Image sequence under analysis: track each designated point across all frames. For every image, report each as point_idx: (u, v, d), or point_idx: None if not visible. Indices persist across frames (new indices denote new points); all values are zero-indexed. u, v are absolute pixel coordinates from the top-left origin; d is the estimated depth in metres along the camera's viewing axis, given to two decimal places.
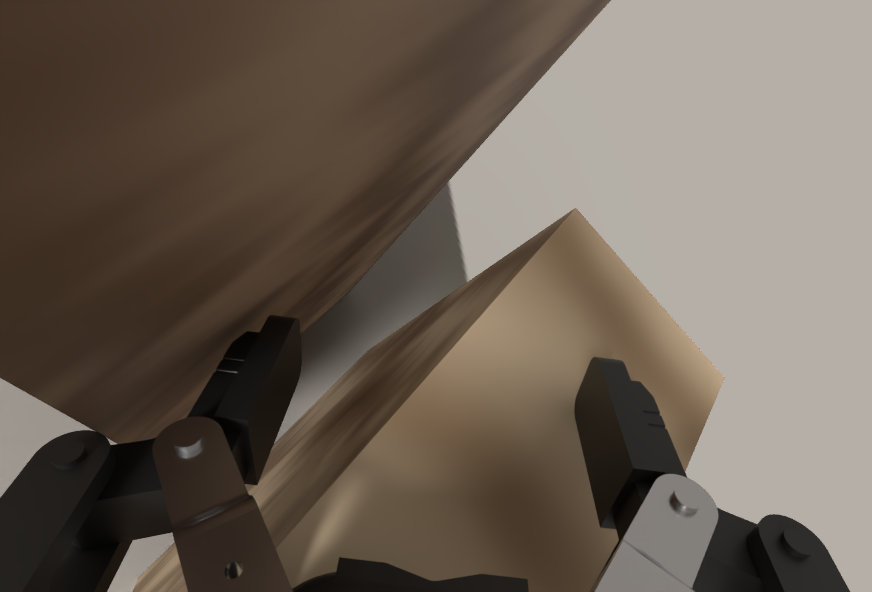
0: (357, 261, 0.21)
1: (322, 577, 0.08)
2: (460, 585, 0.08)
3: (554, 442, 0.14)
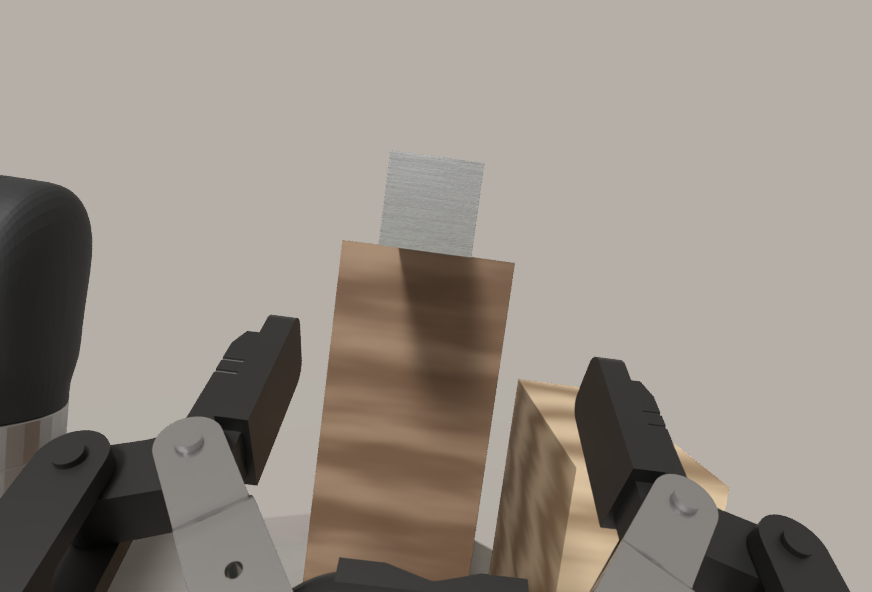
0: None
1: (322, 577, 0.08)
2: (460, 586, 0.08)
3: None
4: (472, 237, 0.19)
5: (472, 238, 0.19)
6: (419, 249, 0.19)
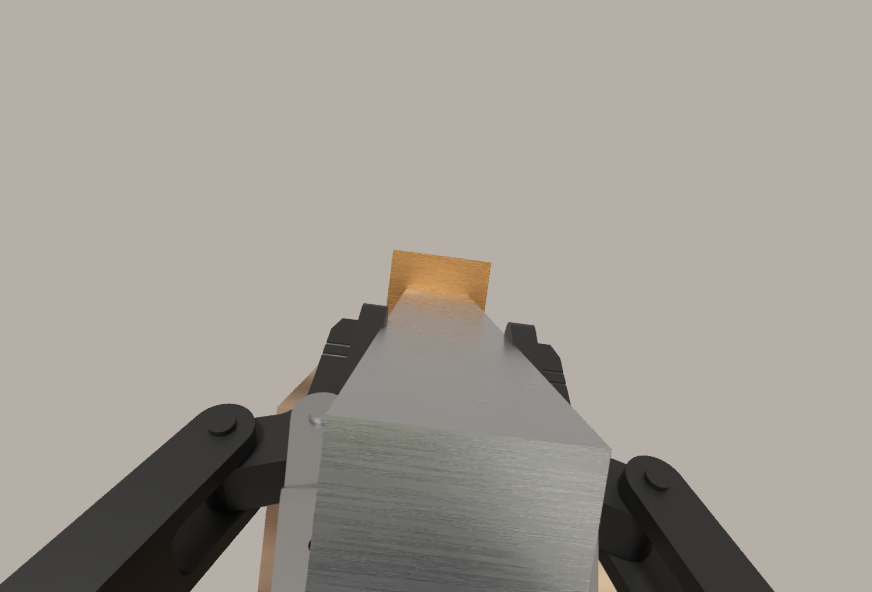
0: None
1: None
2: None
3: None
4: None
5: None
6: None
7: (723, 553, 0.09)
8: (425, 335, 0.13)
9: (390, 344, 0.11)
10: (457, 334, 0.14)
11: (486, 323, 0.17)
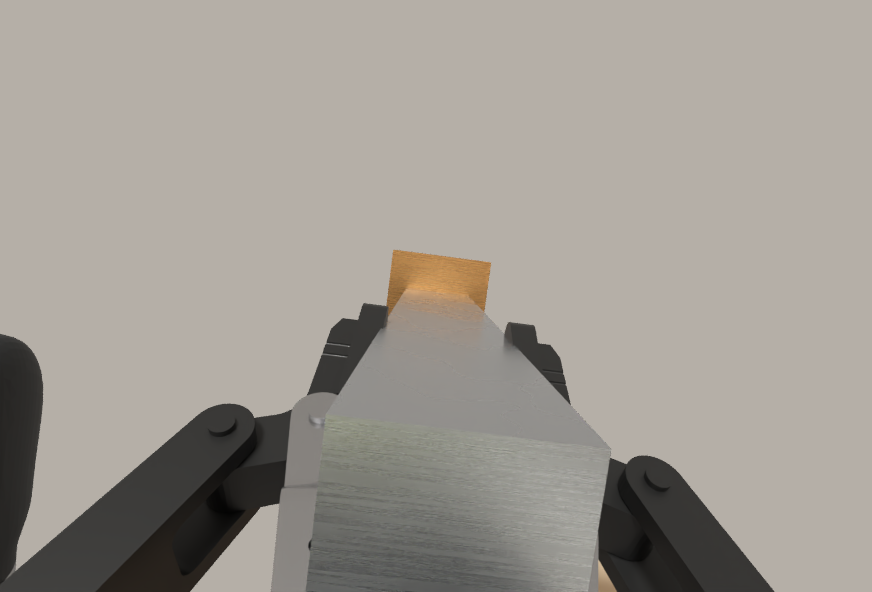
0: None
1: None
2: None
3: None
4: None
5: None
6: None
7: (723, 553, 0.09)
8: (425, 335, 0.13)
9: (390, 344, 0.11)
10: (457, 334, 0.14)
11: (486, 323, 0.17)
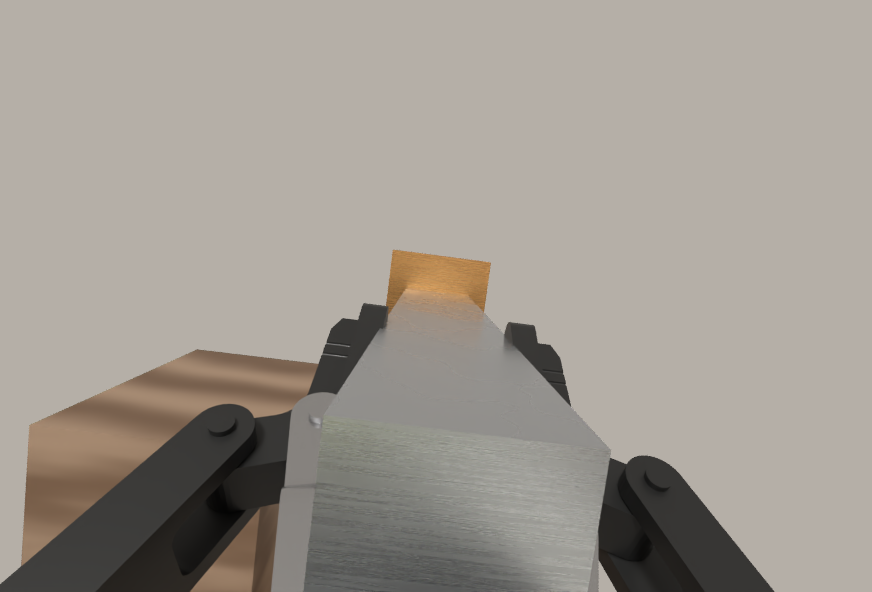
0: None
1: None
2: None
3: None
4: None
5: None
6: None
7: (723, 553, 0.09)
8: (424, 335, 0.13)
9: (389, 344, 0.11)
10: (456, 334, 0.13)
11: (485, 323, 0.17)
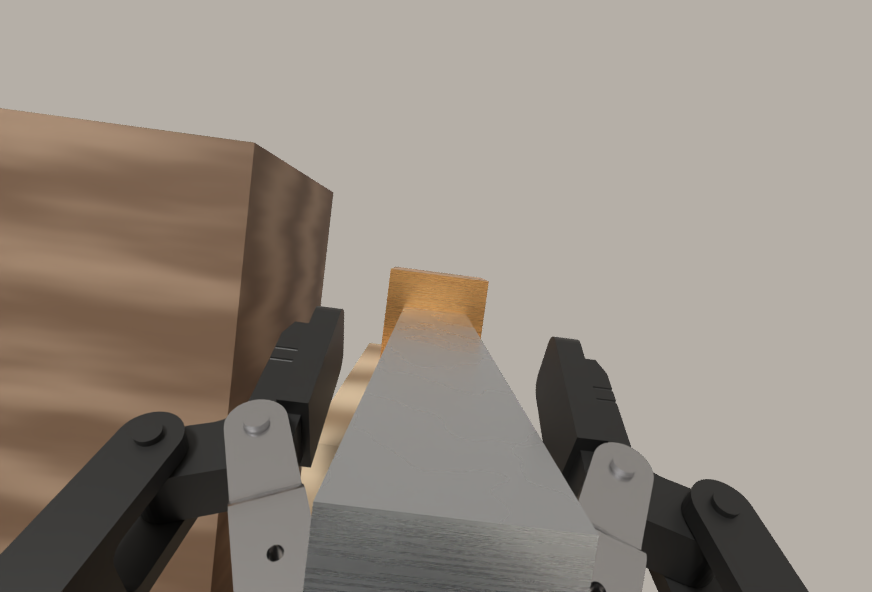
0: None
1: None
2: None
3: None
4: None
5: None
6: None
7: None
8: (419, 377, 0.13)
9: (383, 392, 0.11)
10: (452, 373, 0.14)
11: (482, 354, 0.17)
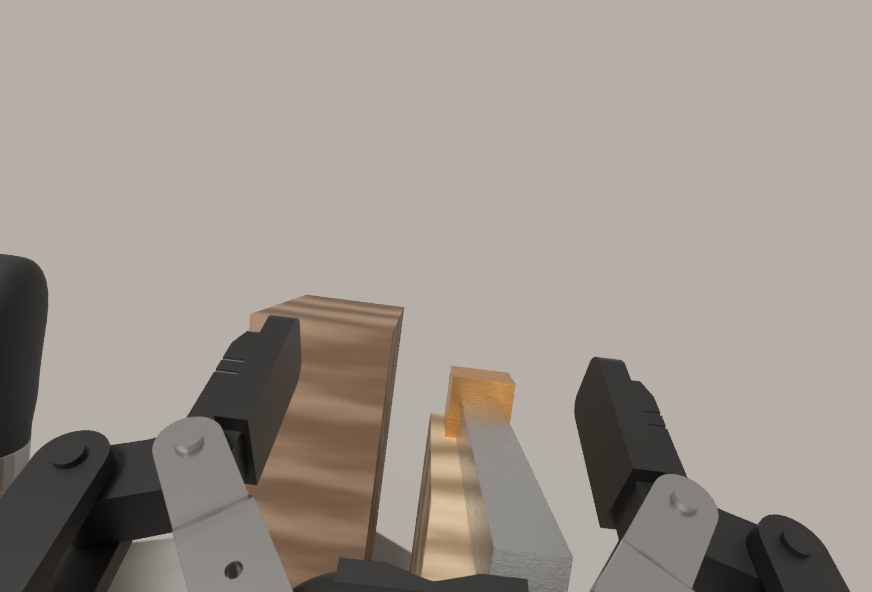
0: (377, 499, 0.47)
1: (322, 577, 0.08)
2: (460, 585, 0.08)
3: None
4: None
5: None
6: None
7: None
8: (499, 481, 0.28)
9: (489, 494, 0.27)
10: (511, 476, 0.29)
11: (521, 457, 0.32)
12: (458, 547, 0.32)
